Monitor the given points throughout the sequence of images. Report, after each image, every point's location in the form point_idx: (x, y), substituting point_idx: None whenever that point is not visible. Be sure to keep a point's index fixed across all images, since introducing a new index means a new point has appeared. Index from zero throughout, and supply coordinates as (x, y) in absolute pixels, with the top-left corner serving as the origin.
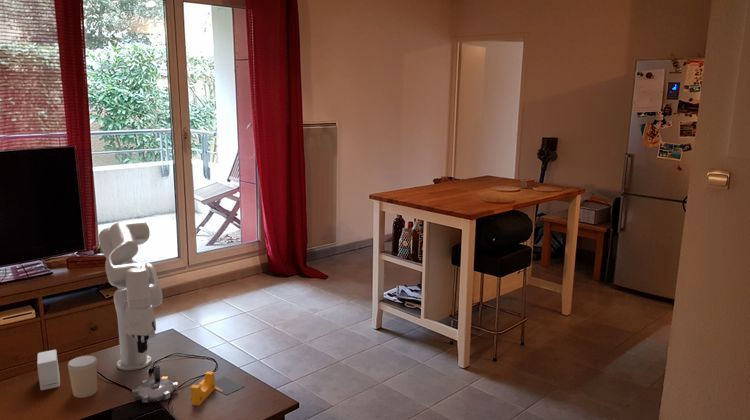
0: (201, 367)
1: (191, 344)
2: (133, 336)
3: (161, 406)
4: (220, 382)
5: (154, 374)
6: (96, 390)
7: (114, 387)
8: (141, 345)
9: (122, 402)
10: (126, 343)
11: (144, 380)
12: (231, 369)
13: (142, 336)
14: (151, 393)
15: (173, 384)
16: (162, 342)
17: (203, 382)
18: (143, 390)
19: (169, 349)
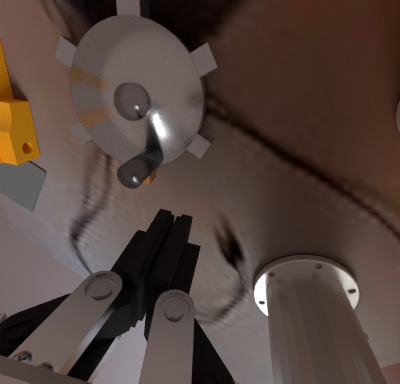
0: (112, 257)
1: None
2: (212, 373)
3: (85, 10)
4: (18, 182)
5: (149, 157)
6: (398, 112)
7: (324, 148)
8: (136, 251)
9: (249, 23)
10: (343, 356)
11: (201, 152)
12: (41, 244)
13: (54, 346)
14: (115, 33)
15: (82, 124)
16: (263, 366)
17: (1, 142)
18: (163, 60)
19: (232, 338)
